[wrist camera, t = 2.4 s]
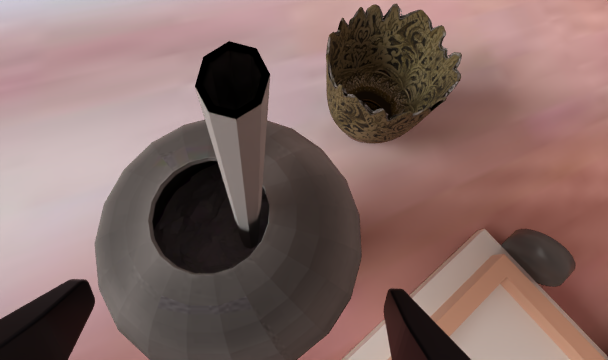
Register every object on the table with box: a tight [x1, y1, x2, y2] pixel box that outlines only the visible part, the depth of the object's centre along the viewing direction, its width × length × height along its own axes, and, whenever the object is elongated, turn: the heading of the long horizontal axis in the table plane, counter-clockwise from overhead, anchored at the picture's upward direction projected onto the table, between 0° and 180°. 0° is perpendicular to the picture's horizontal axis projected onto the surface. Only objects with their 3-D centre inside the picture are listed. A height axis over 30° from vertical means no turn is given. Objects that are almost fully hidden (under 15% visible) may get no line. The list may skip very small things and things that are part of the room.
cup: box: [326, 4, 462, 143], centre depth 20 cm, size 8×7×8 cm
